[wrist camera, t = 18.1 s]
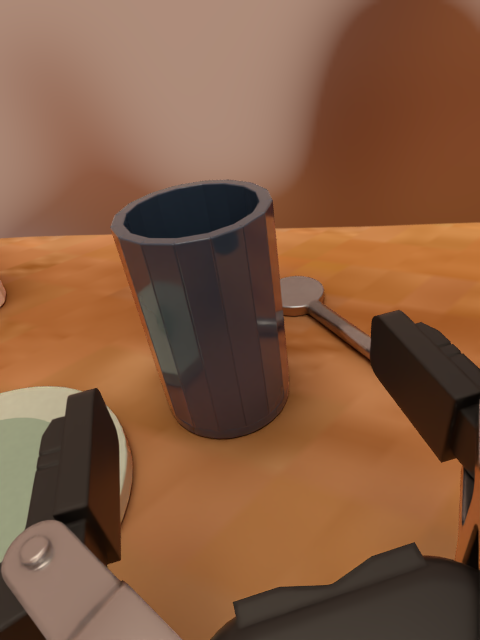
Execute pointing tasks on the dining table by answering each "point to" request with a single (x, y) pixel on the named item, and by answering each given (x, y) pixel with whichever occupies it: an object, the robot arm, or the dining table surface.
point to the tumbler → (209, 301)
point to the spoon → (320, 310)
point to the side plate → (36, 452)
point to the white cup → (2, 294)
